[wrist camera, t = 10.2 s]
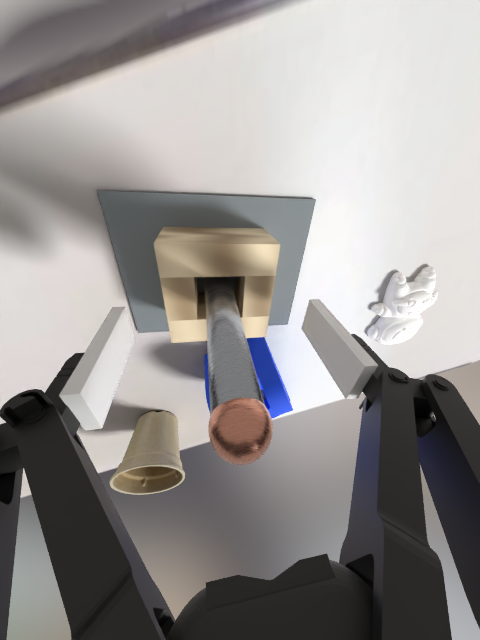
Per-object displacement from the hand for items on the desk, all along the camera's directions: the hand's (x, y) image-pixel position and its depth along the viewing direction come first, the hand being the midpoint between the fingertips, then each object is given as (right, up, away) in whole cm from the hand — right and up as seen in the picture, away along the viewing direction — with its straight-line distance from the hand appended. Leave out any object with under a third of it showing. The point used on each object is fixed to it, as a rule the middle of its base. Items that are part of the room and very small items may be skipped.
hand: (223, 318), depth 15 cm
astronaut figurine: (+23, +2, +14) cm, 27 cm away
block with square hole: (-1, +5, +6) cm, 8 cm away
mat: (-1, +5, +7) cm, 8 cm away
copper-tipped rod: (-1, +5, +6) cm, 8 cm away
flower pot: (-12, -17, +20) cm, 29 cm away
